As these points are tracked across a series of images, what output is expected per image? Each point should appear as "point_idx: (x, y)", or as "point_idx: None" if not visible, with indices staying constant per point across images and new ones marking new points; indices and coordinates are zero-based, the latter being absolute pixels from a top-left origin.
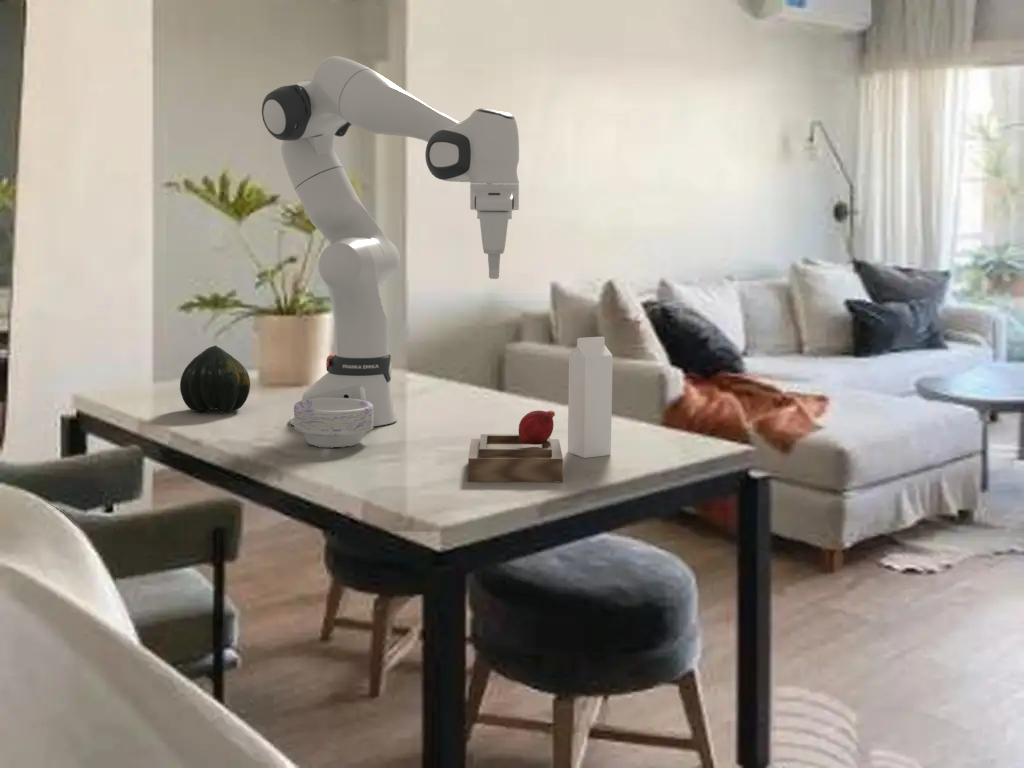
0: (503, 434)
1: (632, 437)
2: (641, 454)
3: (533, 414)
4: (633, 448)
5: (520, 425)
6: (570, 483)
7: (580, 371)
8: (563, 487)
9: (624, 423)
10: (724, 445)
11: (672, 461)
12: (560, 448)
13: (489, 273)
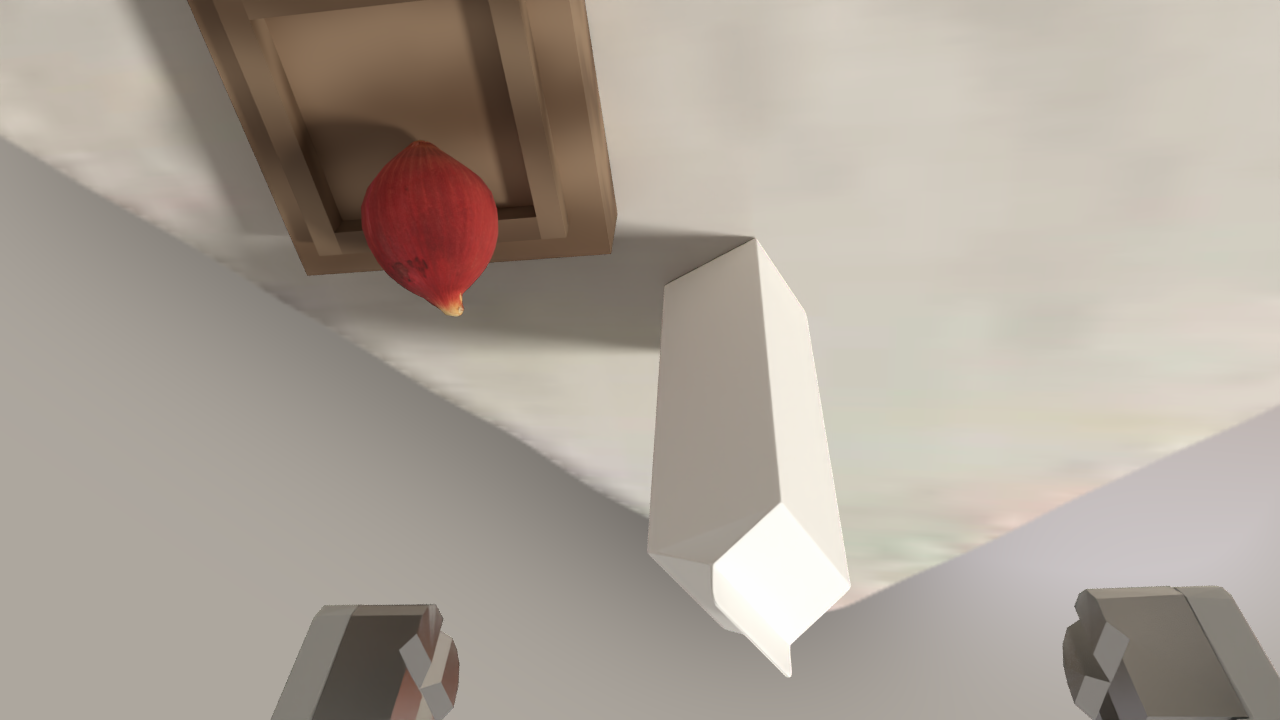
0: (530, 63)
1: (985, 411)
2: None
3: (386, 246)
4: None
5: (388, 174)
6: None
7: (681, 485)
8: (273, 240)
9: (1234, 397)
10: (857, 583)
11: None
12: None
13: (296, 660)
